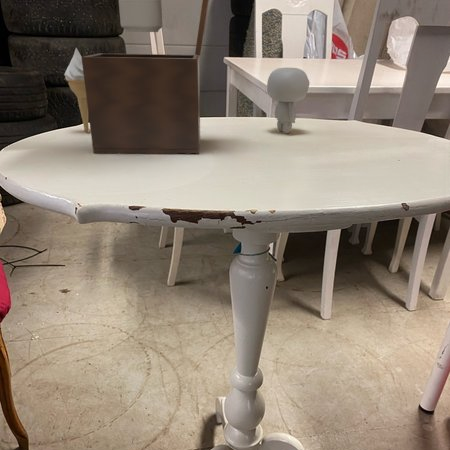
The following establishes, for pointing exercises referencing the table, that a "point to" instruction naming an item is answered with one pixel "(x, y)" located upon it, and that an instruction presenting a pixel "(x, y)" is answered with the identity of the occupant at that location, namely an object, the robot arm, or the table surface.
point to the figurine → (287, 94)
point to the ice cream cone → (78, 85)
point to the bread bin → (143, 103)
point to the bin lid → (202, 27)
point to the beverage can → (141, 15)
